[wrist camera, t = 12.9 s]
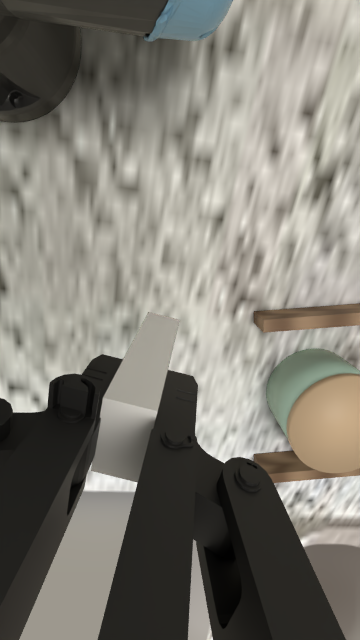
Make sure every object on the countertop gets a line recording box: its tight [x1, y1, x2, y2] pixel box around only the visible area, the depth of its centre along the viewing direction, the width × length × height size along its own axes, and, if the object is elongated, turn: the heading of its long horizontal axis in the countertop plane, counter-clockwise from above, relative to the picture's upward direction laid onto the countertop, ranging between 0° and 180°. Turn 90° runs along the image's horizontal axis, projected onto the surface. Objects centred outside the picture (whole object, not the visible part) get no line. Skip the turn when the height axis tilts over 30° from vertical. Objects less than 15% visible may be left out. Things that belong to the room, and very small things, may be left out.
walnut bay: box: [254, 304, 360, 483], centre depth 41 cm, size 18×23×4 cm
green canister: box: [266, 349, 360, 473], centre depth 39 cm, size 12×12×9 cm
